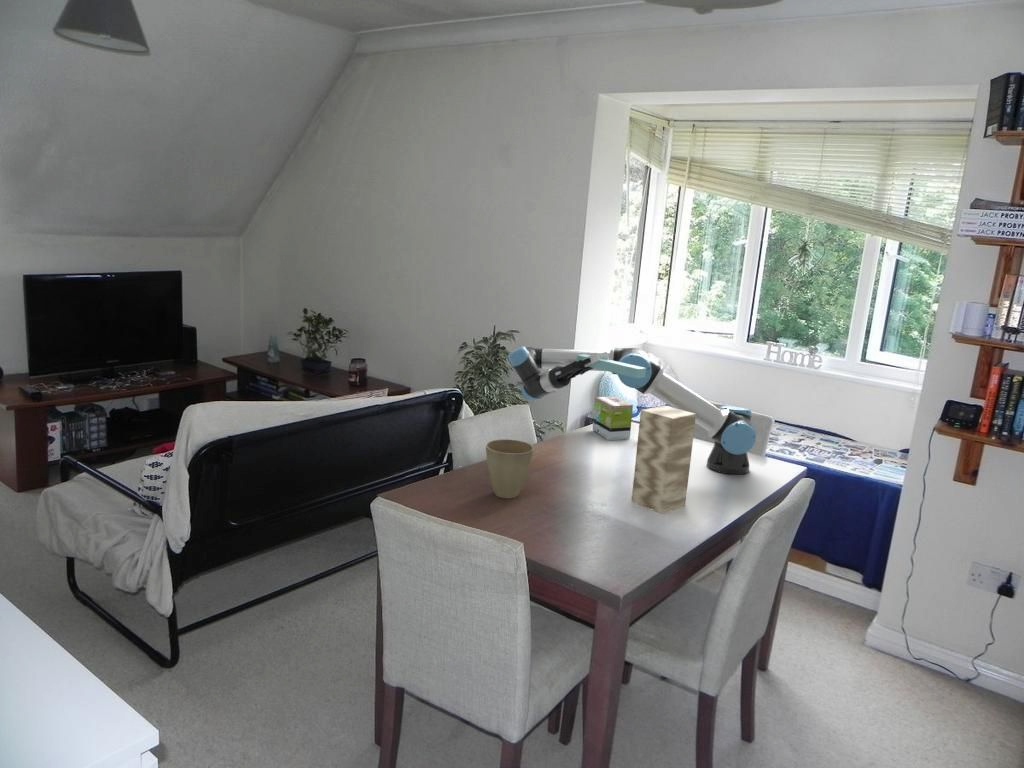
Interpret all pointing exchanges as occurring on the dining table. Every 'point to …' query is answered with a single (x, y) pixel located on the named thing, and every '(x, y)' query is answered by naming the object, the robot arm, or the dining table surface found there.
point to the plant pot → (508, 465)
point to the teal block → (616, 367)
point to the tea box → (612, 418)
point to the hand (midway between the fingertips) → (602, 355)
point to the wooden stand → (663, 458)
